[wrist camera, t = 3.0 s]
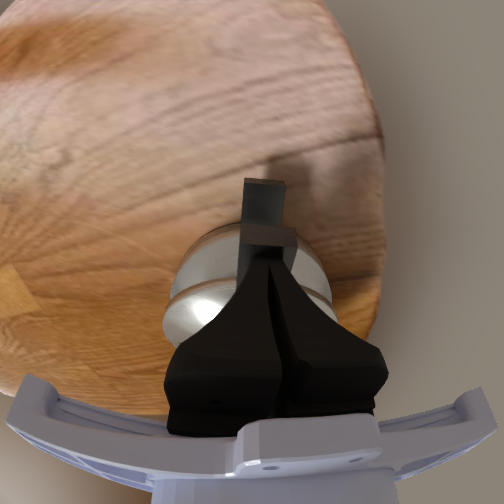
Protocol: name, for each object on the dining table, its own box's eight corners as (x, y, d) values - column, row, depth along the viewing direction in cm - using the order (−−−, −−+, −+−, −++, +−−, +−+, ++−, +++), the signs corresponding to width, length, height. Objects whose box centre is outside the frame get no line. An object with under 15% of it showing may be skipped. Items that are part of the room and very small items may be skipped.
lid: (311, 362, 24) (312, 380, 22) (177, 355, 23) (174, 373, 22) (389, 237, 12) (401, 265, 11) (135, 217, 12) (122, 245, 11)
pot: (304, 351, 27) (308, 376, 24) (183, 343, 26) (178, 369, 23) (351, 184, 18) (368, 202, 15) (171, 168, 17) (156, 183, 15)
